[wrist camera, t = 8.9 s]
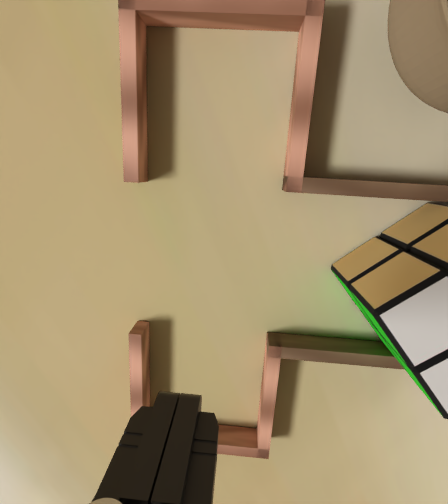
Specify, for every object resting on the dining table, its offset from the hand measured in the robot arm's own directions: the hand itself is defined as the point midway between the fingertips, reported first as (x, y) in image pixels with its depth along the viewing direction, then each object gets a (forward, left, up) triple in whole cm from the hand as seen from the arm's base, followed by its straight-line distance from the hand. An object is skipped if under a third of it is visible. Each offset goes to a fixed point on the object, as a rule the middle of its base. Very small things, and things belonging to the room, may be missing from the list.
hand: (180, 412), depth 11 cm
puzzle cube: (0, +17, -19) cm, 25 cm away
